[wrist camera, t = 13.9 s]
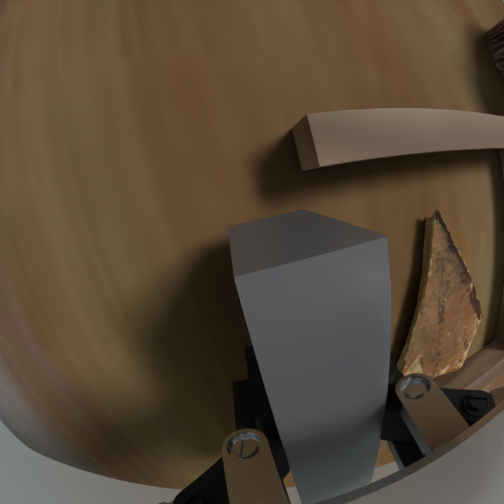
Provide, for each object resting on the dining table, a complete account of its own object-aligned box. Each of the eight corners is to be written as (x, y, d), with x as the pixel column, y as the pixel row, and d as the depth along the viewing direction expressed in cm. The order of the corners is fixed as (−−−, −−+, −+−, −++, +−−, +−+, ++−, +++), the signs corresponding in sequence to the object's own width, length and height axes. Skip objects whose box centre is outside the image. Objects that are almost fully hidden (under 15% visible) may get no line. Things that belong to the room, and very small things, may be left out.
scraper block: (227, 227, 11) (233, 277, 5) (302, 209, 11) (387, 236, 5) (282, 430, 14) (305, 514, 8) (331, 415, 14) (368, 493, 8)
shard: (420, 207, 13) (440, 210, 11) (489, 221, 14) (507, 224, 12) (384, 373, 15) (396, 389, 14) (456, 356, 16) (469, 367, 14)
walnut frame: (291, 128, 11) (306, 114, 9) (504, 123, 12) (527, 120, 9) (338, 437, 16) (349, 461, 13) (500, 348, 16) (516, 359, 14)
